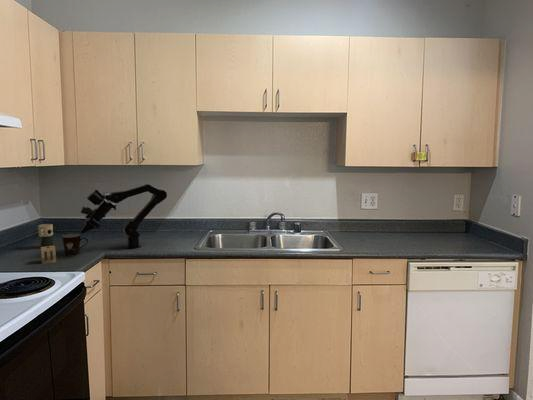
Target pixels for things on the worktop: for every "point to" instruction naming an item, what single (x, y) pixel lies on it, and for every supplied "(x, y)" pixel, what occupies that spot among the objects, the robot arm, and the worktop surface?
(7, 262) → the worktop surface
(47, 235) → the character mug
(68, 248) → the coffee mug
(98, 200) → the robot arm
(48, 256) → the numbered maple block
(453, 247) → the worktop surface
